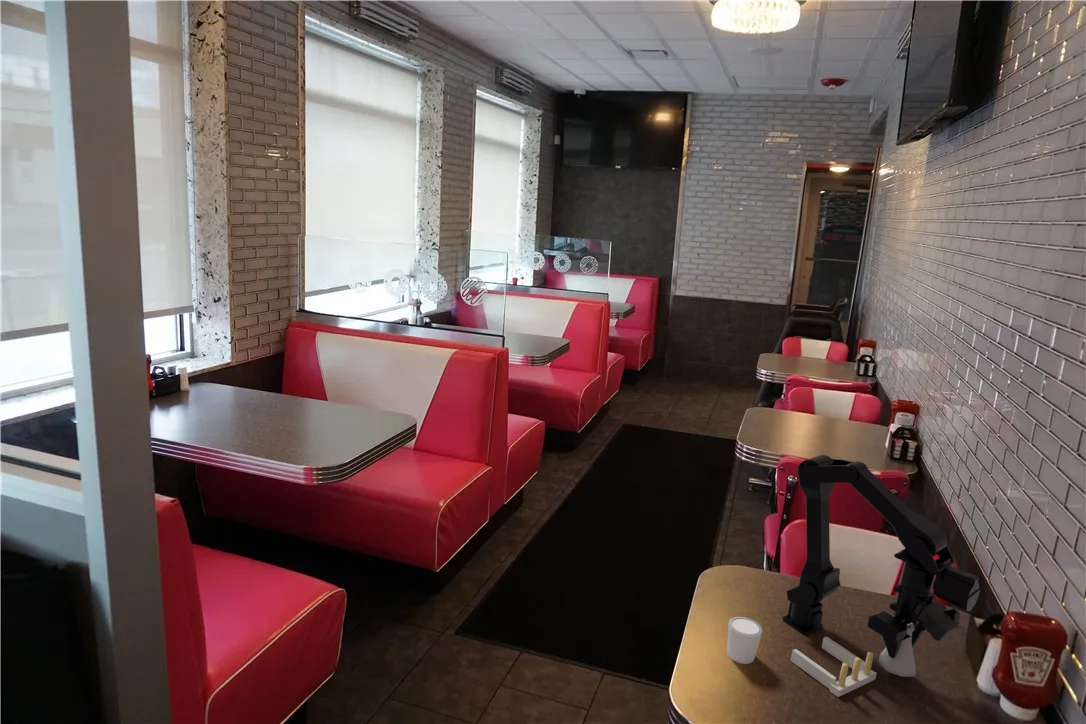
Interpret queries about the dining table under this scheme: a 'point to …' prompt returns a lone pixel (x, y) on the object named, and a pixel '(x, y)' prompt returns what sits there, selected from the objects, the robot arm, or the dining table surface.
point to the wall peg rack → (845, 684)
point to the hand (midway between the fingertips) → (899, 653)
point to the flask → (901, 658)
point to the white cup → (743, 639)
